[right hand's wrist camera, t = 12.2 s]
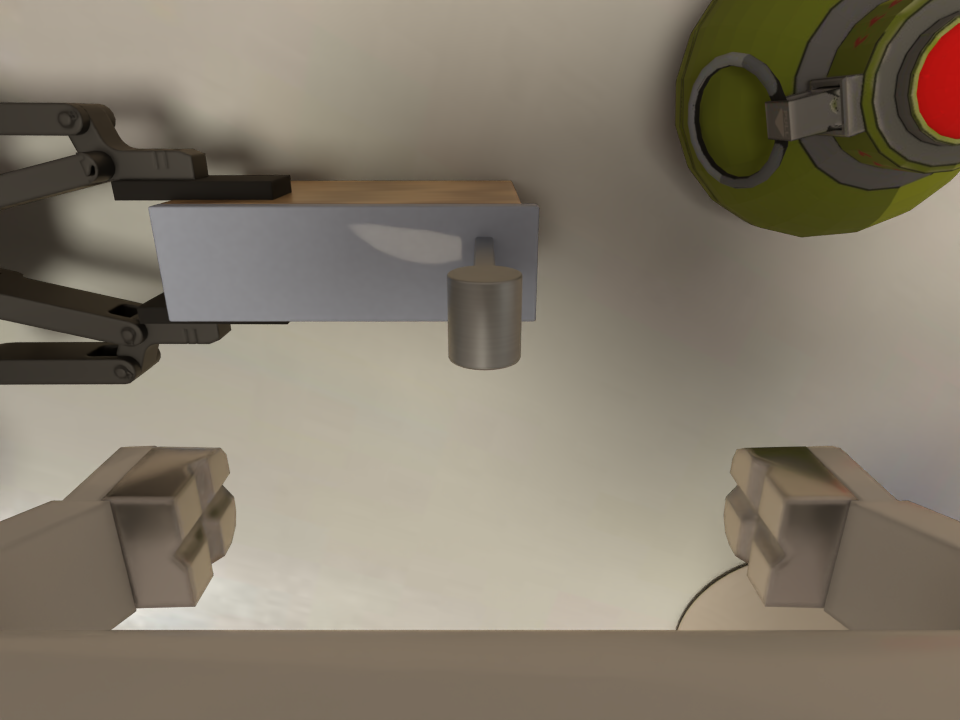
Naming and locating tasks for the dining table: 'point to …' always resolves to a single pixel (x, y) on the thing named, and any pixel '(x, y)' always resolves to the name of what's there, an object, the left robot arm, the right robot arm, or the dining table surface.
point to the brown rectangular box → (387, 193)
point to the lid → (357, 267)
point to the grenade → (821, 109)
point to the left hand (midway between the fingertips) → (287, 249)
